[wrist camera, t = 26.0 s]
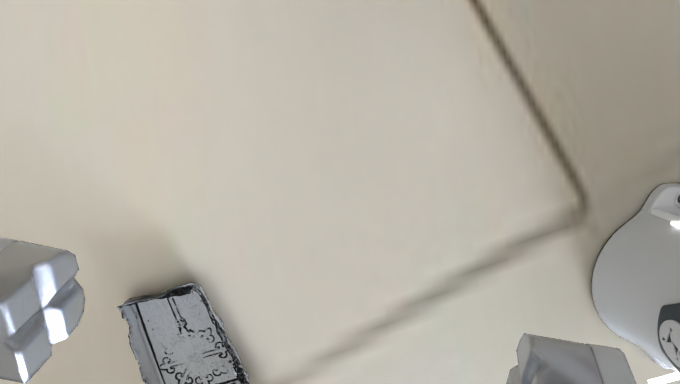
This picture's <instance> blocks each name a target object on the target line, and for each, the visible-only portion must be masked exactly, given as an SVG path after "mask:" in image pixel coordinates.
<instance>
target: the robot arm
mask: <svg viewBox="0 0 680 384" xmlns="http://www.w3.org/2000/svg"><path fill="white" fill-rule="evenodd" d="M679 196H680V184H673V183H666V184H662V185H660V186H658V187H657V188H656V189H655V190H654V191H653V192H652V193H651V195H650V196H649V197H648V199H647V201H646V202H645V204H644V206H643V207H642V209H641V211H640V212H639V213H638V214H637V215H636V216H634V217H633V218H632V219H631V220H629V221H628V222H627V223H626V224H624V225H623V226H622V227H621V228H620V229H618V230H617V231H616V232H615V233H614V235H613V236H612V237H611V238H610V239H609V240H608V242H607V243H606V245H605V246H604V248H603V249H602V251H601V253H600V255H599V257H598V259H597V262H596V265H595V268H594V272H593V277H592V295H593V300H594V304H595V307H596V310H597V312H598V314H599V316H600V317H601V319H602V320H603V322H604V323H605V324H606V325H607V326H608V328H609V329H611V330H612V331H613V332H614V333H616V334H617V335H618V336H620V337H622V338H624V339H626V340H628V341H630V342H632V343H634V344H635V345H637V346H639V347H640V348H642V349H644V351H645V352H646V353H647V354H648V355H649V357H650V358H651V359H652V360H653V361H654V362H656V363H657V364H659V365H660V366H661V367H663V368H666V369H673V370H674V371H675V372H676V373H672V374H668V375H665V376H661V377H657V378H654V379H650V380H648V383H649V384H665V383H668V382H672V381H675V380H679V379H680V201H678V200H677V199H678V197H679ZM78 270H79V267H78V263H77V259H76V255H75V254H73V253H71V252H69V251H67V250H63V249H58V248H53V247H48V246H43V245H38V244H34V243H29V242H24V241H16V240H12V239H7V238H2V237H0V379H4V380H10V381H15V382H21V383H27V382H28V381H29V380H30V379H31V378H32V377H33V375H34V374H35V373H36V372H37V371H38V370H39V369H40V368H41V367H42V365H43V364H44V363H45V362H46V361H47V360H48V359H49V358H50V357H51V356H52V345H53V344H55V343H57V342H59V341H61V340H63V339H65V338H68V336H69V335H70V334H71V333H72V332H73V331H74V329H75V328H76V327H77V326H78V323H79V321H80V319H81V316H82V314H83V312H84V304H85V297H84V291H83V288H82V287H81V286H80V284H79V283H78V282H77V281H76V280H75V279H74V276H75V275H76V273H77V272H78ZM516 351H517V358H518V365H517V366H515V367H513V368H512V369H510V372H509V375H508V379H507V382H506V384H636V381H635V379H634V376H633V374H632V371H631V369H630V366H629V364H628V362H627V359H626V357H625V354H624V353H623V352H622V351H621V350H620V349H619V348H612V347H606V346H600V345H594V344H583V343H578V342H572V341H566V340H561V339H555V338H549V337H543V336H538V335H532V334H526V333H524V334H523V336H522V337H521V339H520V341H519V344H518V347H517V350H516Z"/></svg>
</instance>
